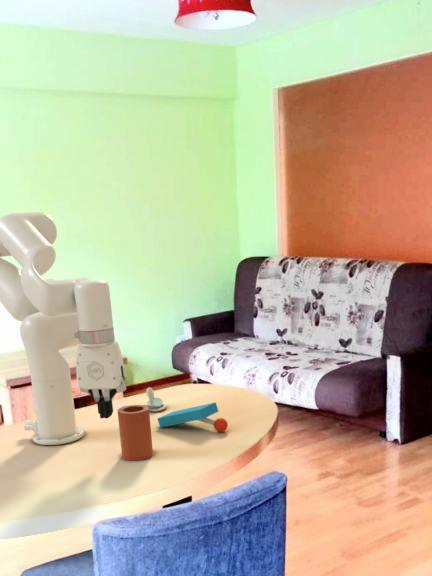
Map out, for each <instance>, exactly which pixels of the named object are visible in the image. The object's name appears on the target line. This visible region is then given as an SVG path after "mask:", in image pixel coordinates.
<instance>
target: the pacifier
mask: <svg viewBox="0 0 432 576" xmlns="http://www.w3.org/2000/svg"><path fill="white" fill-rule="evenodd" d="M145 394H146V396H147V398H148V401H147V403H146V404H144V405H145V406H148V407H149V412H150V411H151V412H160V411H163V410H165V409H166V408H167V405H166V404H164V403H163V400H162V399H161V398H160V397H155V392H154V390H153V388H152V387H151V386H150V387H149V386H148V388H146V391H145Z"/></svg>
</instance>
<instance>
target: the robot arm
mask: <svg viewBox="0 0 432 576" xmlns="http://www.w3.org/2000/svg"><path fill="white" fill-rule="evenodd" d="M57 236H58V230H57V225H56V223H55V222H54V219H53V218H52V216H50V215H48V214H47V213H45V212H43V211H27V212H25V211H24V212H11V213H7V214H5V215H3V216H1V217H0V303H1V304H2V306H3V307H4V308H5V310H6V311H7V312H8V314H10V316H11V317H12V318H13V319H15V320H16V321H19V322H21V323H20V326H19V333H20V338H21V341H22V345H23V348H24V350H25V353H26V358H27V363H28V368H29V376H30V381H31V389H32V397H33V405H34V411H35V419H36V420H34V421H33V420H25V421H24V424H23V429H24V431H32V432H33V434H32V436H31V438H32V442H33V443H35V444H37V445H42V446H58V445H64V444H70V443H72V442H76V441H77V440H80V439H81V438H83V436H84V434H85V433H84V429H83V428H82V427H80V426H77V419H76V411H75V410H76V408H75V401H74V394H73V383H72V377H71V369H70V366H69V363H68V361H67V360H66V359H65V357H63V355H62V354H61V352H60V350H62V349H65V348H71V347H75V346H76V353H75V356H76V357H75V369H76V370H75V371H76V383H77V386H78V387H79V390H80V392H81V393H85V394H89V395H90V396H91V397H92V398H93V399H94V401H95V402H96V405H97V406H96V407H97V412H98V414H99V418H100V419H109V418H110V417H111V416H112V415H113V413H114V405H113V399H114V397H115V396H116V395H117V394H119V393H123V392H125V391H126V390H127V386H126V383H125V382H126V371H125V364H124V359H123V355H122V351H121V347H120V345H119V343H118V341H116V339H115V329H114V321H113V320H114V319H113V312H112V311H113V310H112V302H111V293H110V292H111V291H110V286H109V283H108V282H107V280H104V279H91V278H87V277H75V278H66V279H55V278H45V279H44V278H43V277H42V276H43V275H44V274H46V273H47V272H49V271H50V269H51V268H52V267H53V265H54V264H55V261H56V258H57V254H56V253H57V252H56V249H55V247H54V246H53V244H54V243H55V242H56V240H57ZM2 257H4V258H5V257H13V258H14V260H15V261H16V262H17V263H18V264H19V266H20V267H21V270H20V268H18V267H17V266H16V265H15V264H13V263H11V262H10V261H9V260H6V259H4V258H2Z"/></svg>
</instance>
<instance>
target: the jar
mask: <svg viewBox="0 0 432 576" xmlns="http://www.w3.org/2000/svg"><path fill="white" fill-rule="evenodd" d="M145 405H146V404H130V405H125V406H120V407H119V408H118V409H117V418H118V429H119V439H120V449H121V457H122V459H124V460H126V461H143V460H146V459H148V458H152V456H153V455H154V452H153V451H154V450H153V439H152V428H151V417H150V415H151V414H150V411H149V407H148V406H145Z"/></svg>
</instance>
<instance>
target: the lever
mask: <svg viewBox="0 0 432 576" xmlns="http://www.w3.org/2000/svg"><path fill="white" fill-rule="evenodd" d="M216 413H219V408H218V405H217V402H211V403H207V404H202V405H197V406H192V407H188V408H187V407H186V408H182V409H179V410H173V411H170V412H169V413H166V414H164V415H161V416H160V417H158V418H157V422H158V425H159V428H164V427H170V426H174V425H179V424H180V425H181V424H183V423H189V422H195V421H199V422H202V423H205V424H208V425H211V426H213V427H214V430H215V431H217V432H219V433H222V432H225V431H227V429H228V426H229V425H228V421H227V420H226V418H222V417H219V418H216V419H215V420H214V419H211V418H209V417H211V416H212V415H214V414H216Z"/></svg>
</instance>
